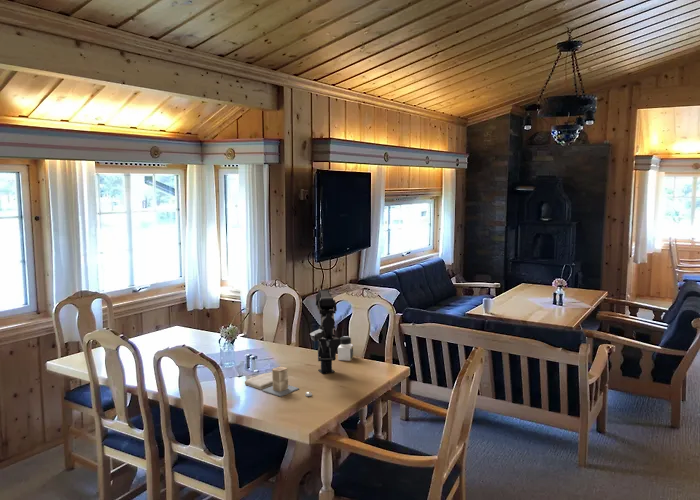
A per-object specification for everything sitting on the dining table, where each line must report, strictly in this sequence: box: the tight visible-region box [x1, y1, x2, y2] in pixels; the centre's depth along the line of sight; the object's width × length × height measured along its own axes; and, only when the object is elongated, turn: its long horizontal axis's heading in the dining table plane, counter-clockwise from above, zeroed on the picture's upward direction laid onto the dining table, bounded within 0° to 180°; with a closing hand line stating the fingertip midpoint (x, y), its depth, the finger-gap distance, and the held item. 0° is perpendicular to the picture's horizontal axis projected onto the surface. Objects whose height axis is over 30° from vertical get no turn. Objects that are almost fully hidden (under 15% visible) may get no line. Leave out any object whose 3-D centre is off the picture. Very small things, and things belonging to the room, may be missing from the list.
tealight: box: [304, 391, 313, 398], centre depth 267 cm, size 3×3×1 cm
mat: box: [261, 384, 300, 397], centre depth 274 cm, size 12×12×1 cm
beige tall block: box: [271, 366, 289, 392], centre depth 274 cm, size 5×5×10 cm
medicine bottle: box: [337, 335, 354, 362], centre depth 320 cm, size 7×7×12 cm
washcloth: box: [244, 371, 273, 390], centre depth 286 cm, size 12×18×3 cm, turn 139°
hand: (328, 355), depth 284 cm, fingers open, 9 cm apart
